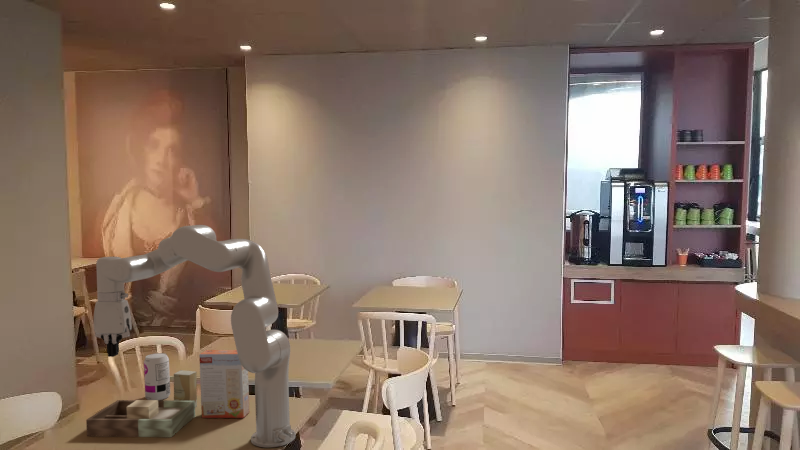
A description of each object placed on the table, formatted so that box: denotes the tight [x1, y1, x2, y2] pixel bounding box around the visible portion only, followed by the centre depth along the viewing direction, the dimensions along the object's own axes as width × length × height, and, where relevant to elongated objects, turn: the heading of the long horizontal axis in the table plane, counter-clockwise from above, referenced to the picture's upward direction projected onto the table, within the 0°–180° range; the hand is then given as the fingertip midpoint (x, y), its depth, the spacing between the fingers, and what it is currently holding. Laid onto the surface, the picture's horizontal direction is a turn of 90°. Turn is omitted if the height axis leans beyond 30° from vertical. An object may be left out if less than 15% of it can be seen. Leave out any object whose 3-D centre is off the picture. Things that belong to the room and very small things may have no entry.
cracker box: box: [199, 349, 250, 419], centre depth 192 cm, size 14×6×21 cm, turn 84°
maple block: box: [127, 399, 159, 419], centre depth 185 cm, size 7×6×4 cm
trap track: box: [85, 399, 197, 438], centre depth 185 cm, size 26×17×5 cm, turn 85°
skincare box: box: [173, 369, 198, 408], centre depth 200 cm, size 6×4×12 cm
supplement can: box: [143, 352, 171, 400], centre depth 211 cm, size 8×8×15 cm
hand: (113, 355), depth 185 cm, fingers closed
